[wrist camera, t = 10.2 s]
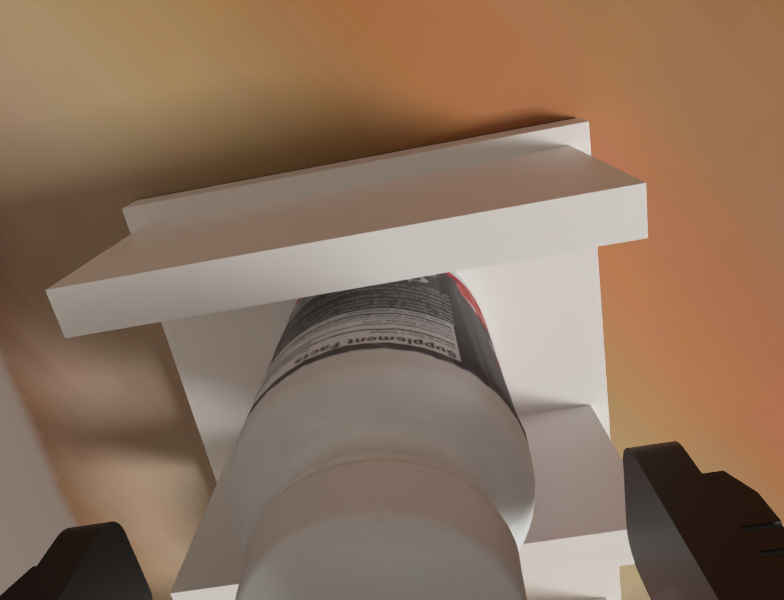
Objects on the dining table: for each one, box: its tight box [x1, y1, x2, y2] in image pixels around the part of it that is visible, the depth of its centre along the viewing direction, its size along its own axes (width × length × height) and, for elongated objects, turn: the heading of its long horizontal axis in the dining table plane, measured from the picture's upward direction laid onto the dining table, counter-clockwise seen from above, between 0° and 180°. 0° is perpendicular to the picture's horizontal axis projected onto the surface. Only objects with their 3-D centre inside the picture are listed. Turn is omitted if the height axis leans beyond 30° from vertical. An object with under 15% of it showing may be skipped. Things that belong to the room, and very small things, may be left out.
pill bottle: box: [229, 271, 535, 600], centre depth 13 cm, size 5×5×10 cm
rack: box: [45, 118, 648, 600], centre depth 17 cm, size 17×12×6 cm
